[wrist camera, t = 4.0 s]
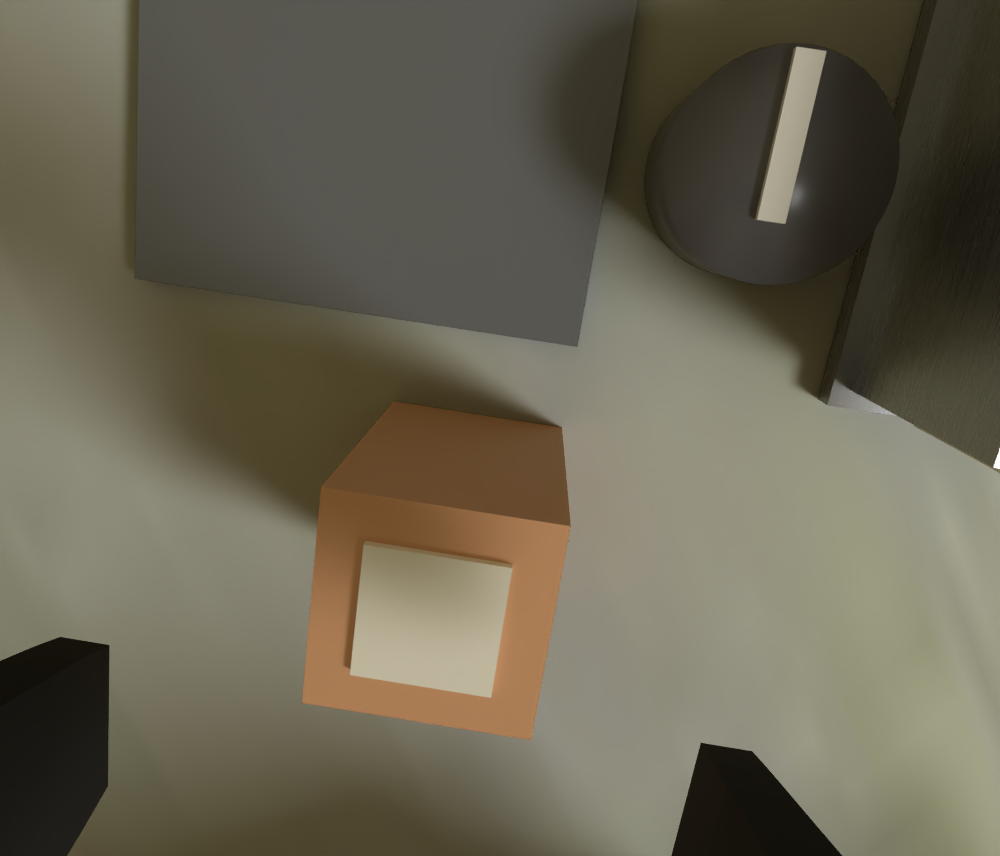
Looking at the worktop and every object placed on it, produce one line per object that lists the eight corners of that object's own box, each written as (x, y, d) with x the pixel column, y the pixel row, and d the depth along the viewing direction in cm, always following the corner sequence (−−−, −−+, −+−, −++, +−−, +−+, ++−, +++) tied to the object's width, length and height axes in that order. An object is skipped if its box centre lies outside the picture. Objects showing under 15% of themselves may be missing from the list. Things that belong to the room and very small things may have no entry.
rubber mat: (576, 344, 17) (577, 346, 17) (143, 277, 17) (134, 278, 17) (666, -171, 14) (669, -181, 14) (153, -243, 15) (142, -257, 14)
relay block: (535, 580, 19) (531, 745, 13) (376, 555, 19) (299, 708, 13) (561, 427, 18) (570, 530, 12) (393, 401, 18) (318, 489, 12)
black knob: (808, 287, 17) (867, 300, 14) (628, 259, 17) (646, 267, 14) (858, 91, 15) (933, 59, 12) (664, 63, 16) (693, 25, 13)
